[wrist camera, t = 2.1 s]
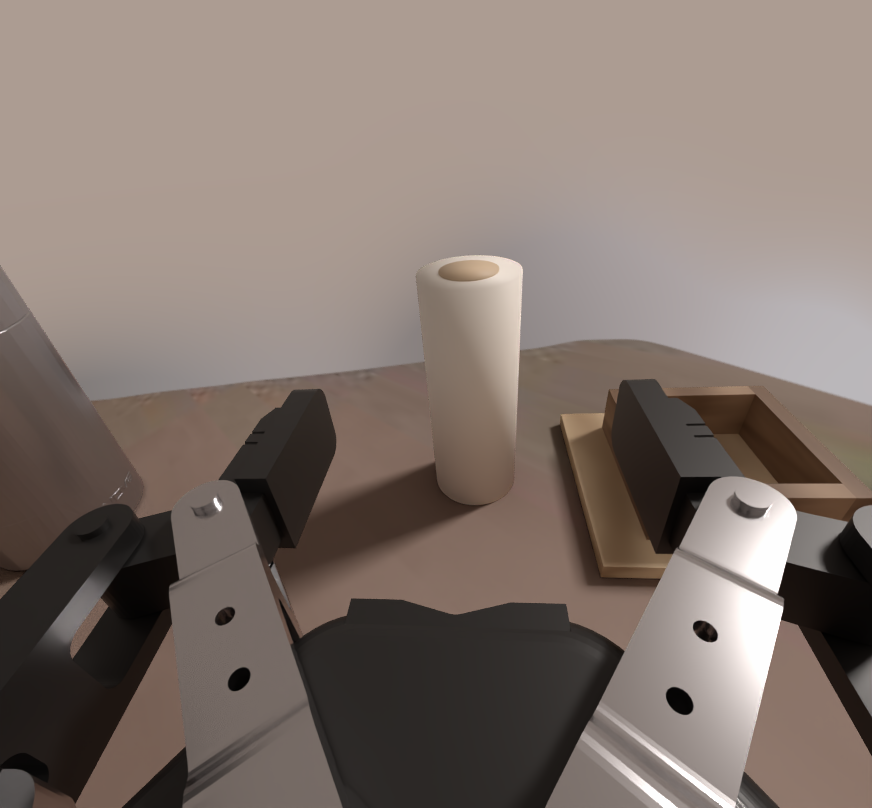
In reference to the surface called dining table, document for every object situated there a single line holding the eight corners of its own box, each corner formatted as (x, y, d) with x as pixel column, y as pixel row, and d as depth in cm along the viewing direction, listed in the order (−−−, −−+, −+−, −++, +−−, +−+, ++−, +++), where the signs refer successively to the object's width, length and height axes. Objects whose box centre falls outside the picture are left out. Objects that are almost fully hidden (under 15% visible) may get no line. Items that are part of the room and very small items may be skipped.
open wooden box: (600, 577, 24) (614, 524, 21) (559, 423, 35) (565, 377, 32) (920, 584, 22) (977, 528, 19) (767, 420, 33) (790, 371, 31)
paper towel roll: (434, 505, 29) (409, 290, 20) (439, 450, 33) (421, 256, 25) (517, 505, 28) (528, 285, 20) (511, 449, 33) (518, 251, 24)
